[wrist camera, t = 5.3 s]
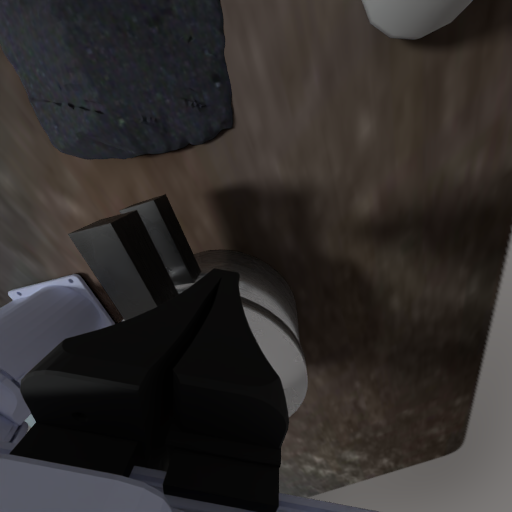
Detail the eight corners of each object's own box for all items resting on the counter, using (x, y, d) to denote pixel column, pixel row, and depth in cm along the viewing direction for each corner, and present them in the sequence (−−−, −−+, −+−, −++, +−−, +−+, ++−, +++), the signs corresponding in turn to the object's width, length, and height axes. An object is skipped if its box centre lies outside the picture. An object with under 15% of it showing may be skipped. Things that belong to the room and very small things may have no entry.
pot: (308, 349, 25) (316, 407, 20) (193, 364, 28) (173, 418, 23) (256, 161, 17) (246, 172, 11) (101, 211, 20) (36, 237, 14)
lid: (319, 414, 20) (325, 461, 17) (167, 422, 22) (151, 463, 20) (260, 173, 11) (253, 185, 8) (30, 235, 14) (-34, 260, 11)
